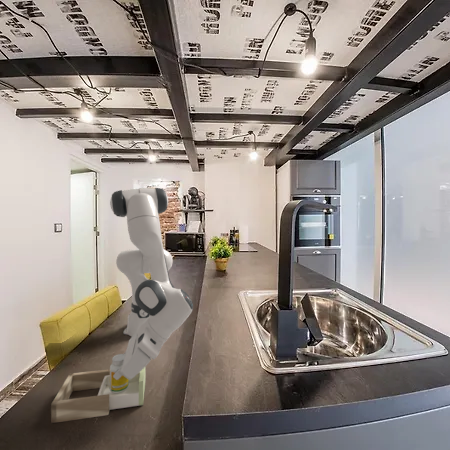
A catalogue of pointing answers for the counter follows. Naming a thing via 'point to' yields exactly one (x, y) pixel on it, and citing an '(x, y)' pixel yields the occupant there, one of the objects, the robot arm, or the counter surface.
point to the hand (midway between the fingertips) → (117, 370)
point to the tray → (125, 392)
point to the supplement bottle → (122, 382)
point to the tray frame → (80, 406)
